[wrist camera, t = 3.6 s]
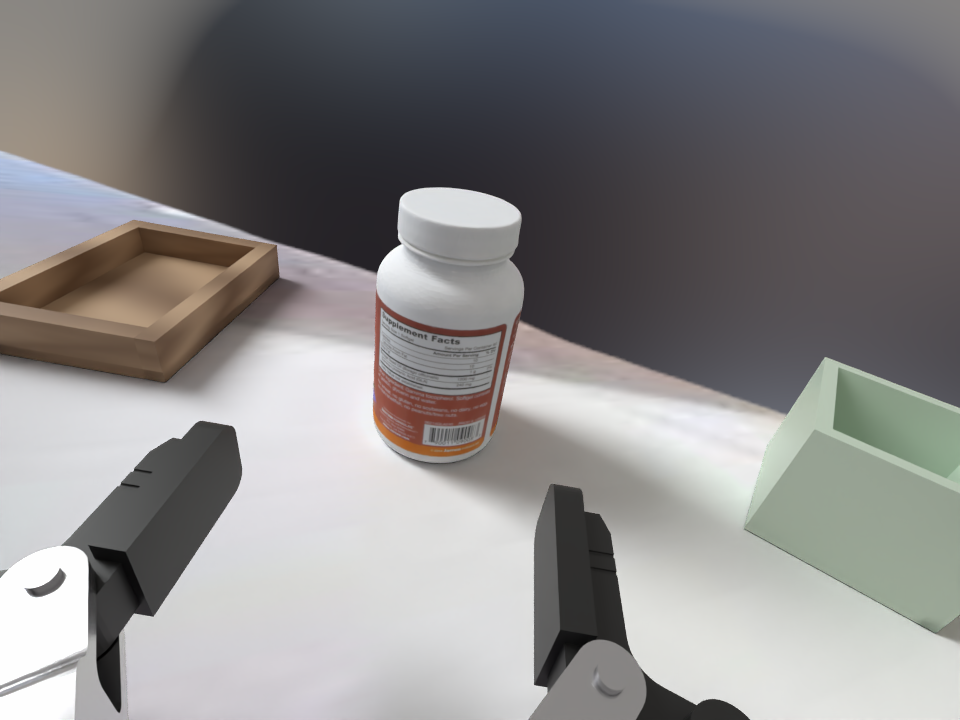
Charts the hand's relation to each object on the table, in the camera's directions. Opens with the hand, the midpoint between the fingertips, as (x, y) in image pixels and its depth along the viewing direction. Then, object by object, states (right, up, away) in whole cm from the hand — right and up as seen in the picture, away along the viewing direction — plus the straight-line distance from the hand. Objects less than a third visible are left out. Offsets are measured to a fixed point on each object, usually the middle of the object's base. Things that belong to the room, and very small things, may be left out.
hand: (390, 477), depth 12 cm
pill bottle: (0, 0, +12) cm, 12 cm away
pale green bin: (+19, -5, +11) cm, 22 cm away
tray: (-18, +6, +17) cm, 25 cm away
